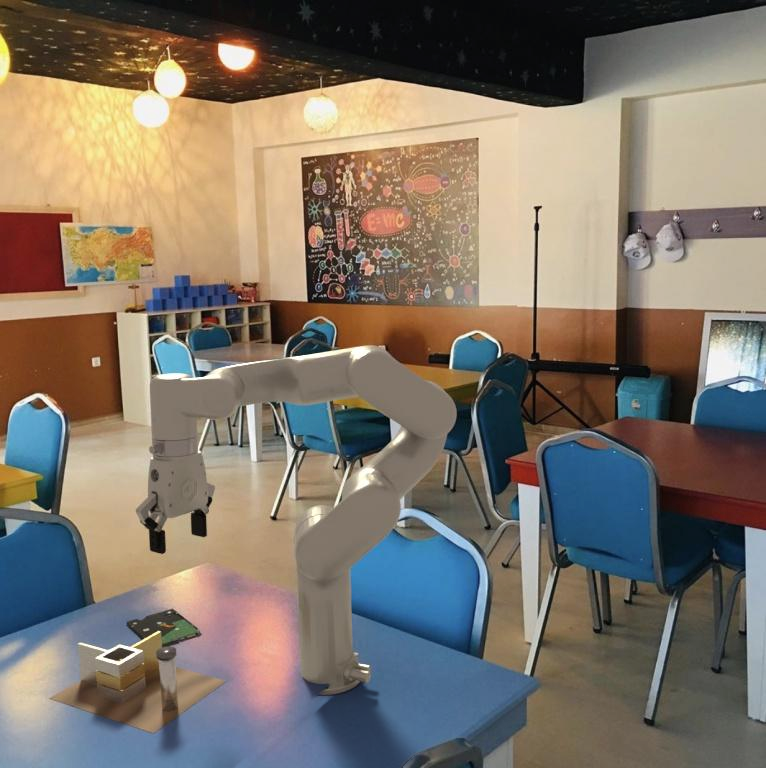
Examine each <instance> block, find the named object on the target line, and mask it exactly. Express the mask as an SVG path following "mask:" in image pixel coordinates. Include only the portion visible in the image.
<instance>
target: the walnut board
mask: <svg viewBox="0 0 766 768" xmlns="http://www.w3.org/2000/svg"><path fill="white" fill-rule="evenodd" d="M175 667H176V681H177V696H178V708H177V709H176V710H173V711H168V712H167V711H163V710H162V700H161V686H160V672H159V671H157V672H156V673H154V674H153V675H151V676H149V677H148V678H146V679H145V683H146V689H144V690H143V691H141V692H140V693H138V694H136V695H135V696H133V697H132V698H130V699H129V700H127V701H126V702H124V703H122V704H121V703H117V702H114V701H111V700H108V699H105V698H102V697H99V696H98V689H97V686H96V685H93V684H90V683H87V682H84V681H81V679H80V680H78V681H77V682H75V683H73V684H71V685H69V686H68V687H66V688H65V689H62V690H61V691H60V692H58V693H56V694H54V695H52V696H51V697H49V699H50V700H52V701H55V702H59V703H62V704H65V705H68V706H70V707H73V708H76V709H79V710H83V711H85V712H89V713H91V714H94V715H97V716H100V717H103V718H105V719H108V720H112V721H114V722H115V721H116V722H119V723H121V724H124V725H126V726H131V727H133V728H136V729H138V730H142V731H145V732H148V733H150V734H156V732H158V731H159V730H161V729H162V728H163V727H165V726H166V725H168V724H169V723H171V722H172V721H173V720H174V719H176V718H177V717H179V716H180V715H181V714H183V713H184V712H186V711H187V710H189V709H190V708H192V707H193V706H194V705H196V704H197V703H198V702H200V701H201V700H202V699H204V698H206V697H207V696H208V695H210V694H211V693H212V692H214V691H216V690H217V689H218V688H219V687H221V686H222V685H224V684H225V683H226V682H228V681H227V680H225V679H224V680H223V679H220V678H217V677H213V676H210V675H206V674H203V673H198V672H195V671H192V670H188V669H185V668H181V667H178V666H175Z"/></svg>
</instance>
